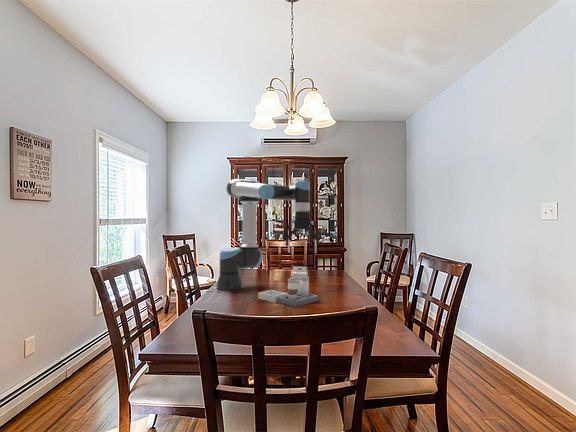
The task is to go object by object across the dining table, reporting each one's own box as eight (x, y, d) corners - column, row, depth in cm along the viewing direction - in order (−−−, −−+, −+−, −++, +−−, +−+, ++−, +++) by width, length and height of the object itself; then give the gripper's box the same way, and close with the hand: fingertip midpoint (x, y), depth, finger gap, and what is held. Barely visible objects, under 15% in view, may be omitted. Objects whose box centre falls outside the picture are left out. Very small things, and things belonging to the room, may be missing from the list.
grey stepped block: (291, 294, 199) (291, 267, 199) (292, 292, 204) (292, 266, 204) (307, 294, 198) (307, 267, 198) (307, 292, 203) (307, 266, 203)
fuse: (297, 300, 185) (297, 276, 185) (303, 298, 188) (303, 275, 188) (304, 301, 182) (305, 277, 182) (310, 300, 185) (310, 276, 185)
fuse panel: (277, 302, 179) (277, 297, 179) (300, 296, 192) (300, 291, 192) (295, 307, 171) (295, 301, 171) (318, 300, 184) (318, 295, 184)
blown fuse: (285, 303, 178) (286, 278, 178) (292, 301, 182) (292, 277, 182) (292, 304, 175) (293, 280, 175) (299, 303, 179) (299, 278, 179)
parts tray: (257, 298, 187) (258, 292, 187) (271, 295, 194) (271, 289, 194) (274, 302, 179) (274, 296, 179) (288, 299, 186) (288, 293, 186)
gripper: (277, 210, 182) (277, 253, 182) (327, 211, 180) (327, 253, 180) (278, 211, 189) (278, 251, 189) (326, 211, 188) (326, 252, 188)
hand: (302, 252), depth 185 cm, fingers open, 13 cm apart
